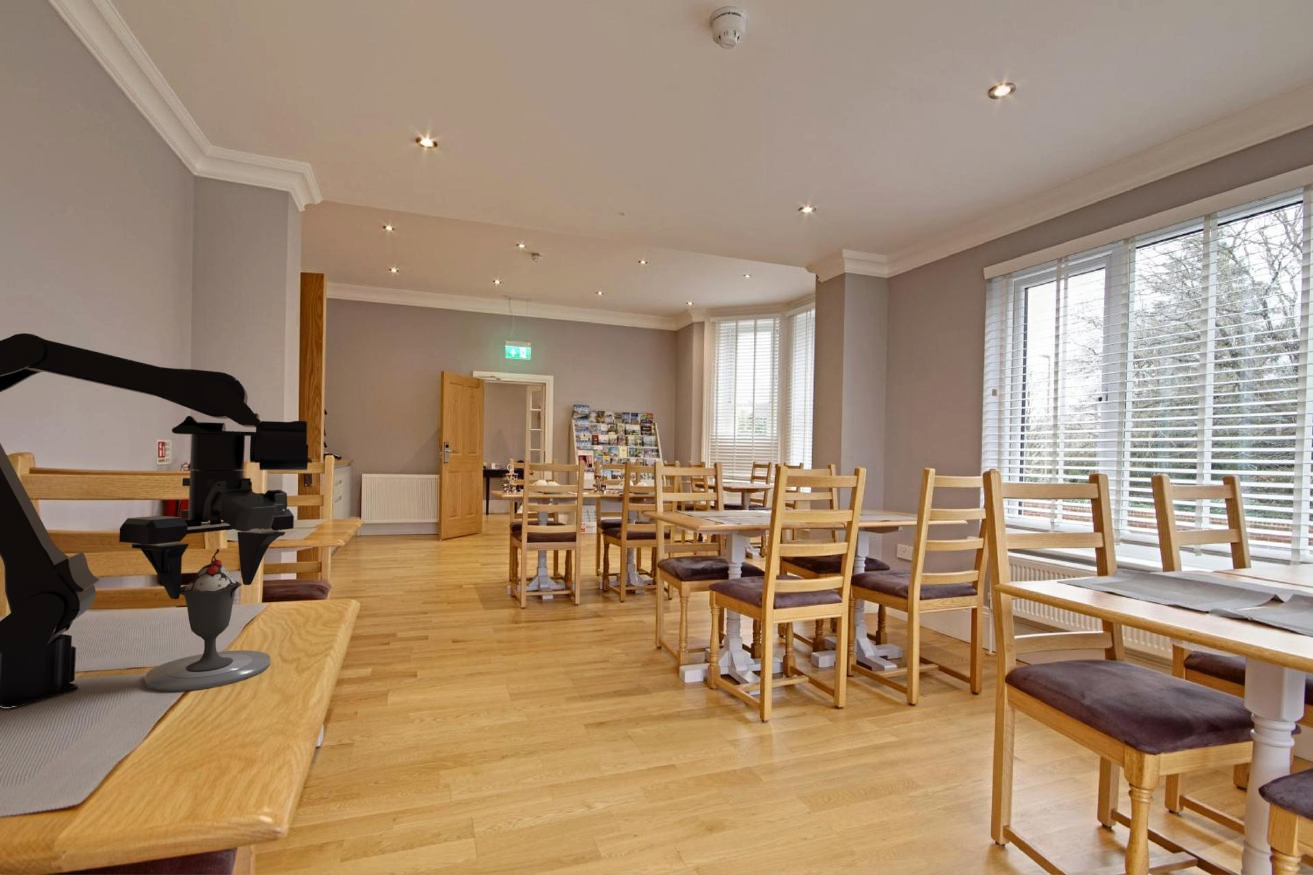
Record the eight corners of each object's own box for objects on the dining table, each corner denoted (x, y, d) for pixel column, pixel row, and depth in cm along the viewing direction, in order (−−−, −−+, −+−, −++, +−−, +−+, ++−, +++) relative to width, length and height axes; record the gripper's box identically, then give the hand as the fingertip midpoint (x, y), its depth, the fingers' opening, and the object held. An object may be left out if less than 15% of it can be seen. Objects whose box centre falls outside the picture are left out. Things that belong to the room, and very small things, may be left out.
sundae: (217, 674, 76) (218, 551, 76) (163, 674, 76) (164, 552, 77) (253, 656, 83) (254, 543, 83) (203, 656, 83) (204, 543, 83)
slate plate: (192, 697, 71) (192, 689, 71) (119, 682, 76) (119, 674, 76) (292, 662, 84) (293, 656, 84) (224, 651, 88) (225, 645, 88)
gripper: (183, 472, 69) (178, 614, 68) (325, 470, 86) (321, 583, 86) (119, 470, 73) (113, 605, 72) (267, 469, 90) (263, 577, 90)
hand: (212, 591), depth 80 cm, fingers open, 9 cm apart
